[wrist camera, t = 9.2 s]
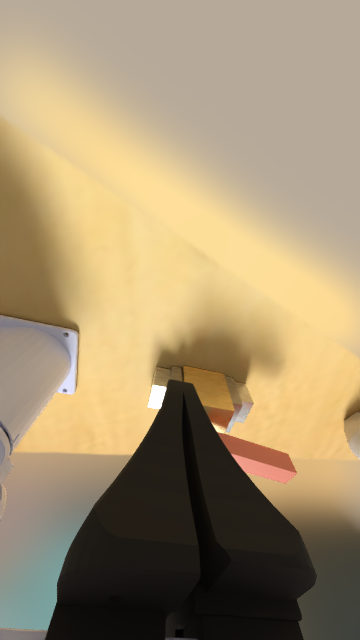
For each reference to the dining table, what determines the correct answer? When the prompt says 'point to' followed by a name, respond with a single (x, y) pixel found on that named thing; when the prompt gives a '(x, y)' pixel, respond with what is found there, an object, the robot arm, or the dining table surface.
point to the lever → (260, 459)
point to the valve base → (207, 394)
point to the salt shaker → (353, 432)
